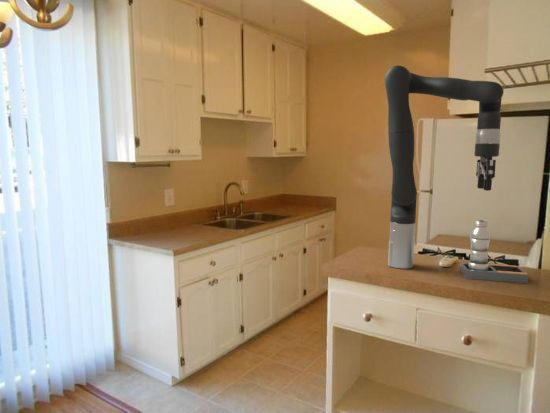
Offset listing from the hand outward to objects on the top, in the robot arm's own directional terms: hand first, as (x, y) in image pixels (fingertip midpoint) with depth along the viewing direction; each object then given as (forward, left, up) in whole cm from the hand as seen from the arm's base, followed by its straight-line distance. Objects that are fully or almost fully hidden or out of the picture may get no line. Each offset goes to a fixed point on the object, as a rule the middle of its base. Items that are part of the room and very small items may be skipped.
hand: (483, 189), depth 138 cm
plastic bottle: (0, 0, -31) cm, 31 cm away
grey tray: (+5, 0, -31) cm, 32 cm away
